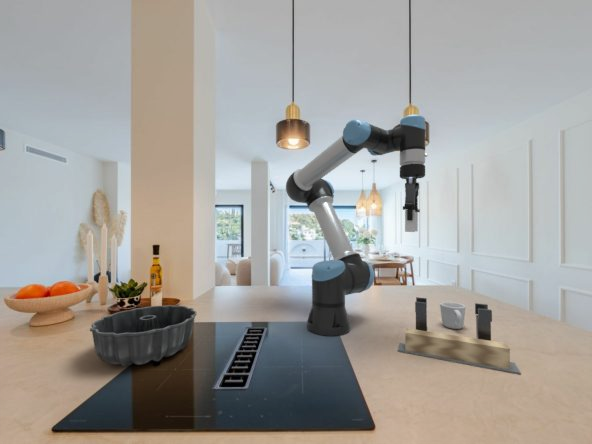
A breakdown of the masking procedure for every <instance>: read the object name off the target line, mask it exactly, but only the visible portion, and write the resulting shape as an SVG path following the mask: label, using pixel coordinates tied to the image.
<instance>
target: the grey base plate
mask: <svg viewBox="0 0 592 444" xmlns="http://www.w3.org/2000/svg"><path fill="white" fill-rule="evenodd" d="M397 352H399V353H405V354H410V355H416V356H421V357H426V358H431V359H436V360H441V361H446V362H447V361H448V362H452V363H458V364H462V365H467V366H468V365H469V366H474V367H479V368H483V369H490V370H493V371H494V370H495V371H500V372H505V373H512V374H516V375H522V372H521V371H520V369H519V367H518V366H517V365H516V363H515V362H513V361H510V369H504V368H499V367H493V366H488V365H483V364H477V363H472V362H466V361H461V360H455V359H450V358H445V357H439V356H434V355H428V354H423V353H418V352H412V351H407V350H405V343H404V342H399V343H398V347H397Z"/></svg>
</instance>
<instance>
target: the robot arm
mask: <svg viewBox="0 0 592 444" xmlns="http://www.w3.org/2000/svg"><path fill="white" fill-rule="evenodd" d="M426 132H427V129H426V118H425V117H424V116H423V115H422V114H409V115H406V116H404V117H402V118H401V119H400V122H399V126H397V127H395V128H391V129H384V128H382V127H380V126H379V127H378V126H377V125H373V124H370V123H369V122H367V121H365V120H360V119H351V120H349V121H348V122H347V123H346V125H345V126H344V128H343V130H342V135H341V136H340V137H339V138H338V139H337V140H336V141H334V142H333V143H332V144H330V145H329V146H328V147H327V148H325V149H324V150H323V151H322V152H321V153H319V154H318V155H317V156H316V157H314V158H313V159H312V160H310V162H308V163H307V164H306V165H305V166H304V167H302V168H301V169H300V168H298V169H296V170H295V171H293V172H292V173H291V175H289V177H288V178H287V181H286V183H285V192H286V194H287V196H288V197H289V198H290V200H292V201H294V202H295V203H300V204H302V203H303V204H306V205H307V208H308V210H309V212H312V213H313V214H314V216H315V218H316V220H317V223H318V225H319V227H320V230H321V232H322V234H323V237H324V239H325V241H326V244H327V246H328V248H329V250H330V253H331V255H332V258H333V259H331V260H330V259H329V260H321V261H318V262H316V263H315V264H313V266H312V271H311V272H312V273H311V308H310V311H309V314H308V317H307V321H306V328H307V330H308V331H309V332H311V333H314V334H316V335H319V336H330V337H334V336H342V335H346V334H347V333H349V332H350V331H351V321H350V318H349V315H348V312H347V309H346V296H348V295H353V294H358V293H359V294H361V293H363V292H364V291H368V290H369V289H370V288H371V287H372V285H373V284H374V280H375V272H374V269H373V267H372V265H371V264H370V263H369V262H367V261H365V260H363V258H362V256H361V254H360V253H359V252H356V251H354V249H353V247H352V245H351V242H350V241H349V239H348V235H347V234H346V232H345V230H344V228H343V225H342V223H341V221H340V219H339V217H338V215H337V213H336V210H335V208H334V206H333V203H334V197H335V194H334V193H335V189H334V186H333V184H332V183H331V182H330V181H329V180H326V179H323V178H324V177H325V176H327V175H328V174H329V173H331V172H332V171H334V170H335V169H336V168H338V167H339V166H341V165H342V164H343V163H345V162H346V161H347V160H349V159H350V158H352V157H353V156H354V155H356V154H357V153H359V152H360V151H362V150H363V149H365V150H367V152H368V153H369V154H370V155H371V156H384V155H385V154H389V153H394V152H399V165H400V167H399V178H401V179H402V180H405V181H406V183H404V189H405V190H404V191H405V197H404V205H403V206H402V210H404V212H405V213H404V214H405V215H404V216H405V217H404V232H406V233H416V232H418V231H419V230H418V225H419V224H418V222H419V221H418V220H419V219H418V218H419V217H418V216H419V213H421V211H420V210H421V209H420V208H418V202H419V201H418V196H419V190H420V182H417V179H423V178H424V177H425V176H426V165H425V164H426V157H428V153H426V134H427V133H426Z"/></svg>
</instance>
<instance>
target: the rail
mask: <svg viewBox="0 0 592 444" xmlns="http://www.w3.org/2000/svg"><path fill="white" fill-rule="evenodd" d="M404 334H405V338H404V339H405V343H404V344H405V350H407V351H412V352H418V353H423V354H428V355H434V356H439V357H445V358H450V359H455V360H461V361H466V362H472V363H477V364H483V365H488V366H493V367H499V368H504V369H510V362H511V354H510V353H511V352H510V347H509V346H508V345H507V343H506V342H502V341H501V342H500V341H495V340H491V341H489V340H482V339H477V337H467V336H462V335H455V334H447V333H443V332H442V333H440V332H434V331H428V330H427V331H422V330H416V328H415V329H414V328H408V327H407V328H405V332H404Z"/></svg>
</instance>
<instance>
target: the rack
mask: <svg viewBox="0 0 592 444" xmlns="http://www.w3.org/2000/svg"><path fill="white" fill-rule="evenodd" d="M427 300H428V299H427V298H426V297H418V296H416V299H415V302H414V304H415V306H414V308H415V309H414V310H415V329H416V330H422V331H428V324H427V323H428V322H427V321H428V320H427V317H428V314H427V313H428V311H427V307H428V305H427ZM474 314H475V322H476V323H475V324H476V326H475V327H476V329H475V331H476V335H475V336H476V339H482V340H489V341H492V330H491V329H492V325H491V324H492V322H493V311H492V309H489V307H488V304H487V303H479V302H478V303H477V302H476V303H474Z"/></svg>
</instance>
